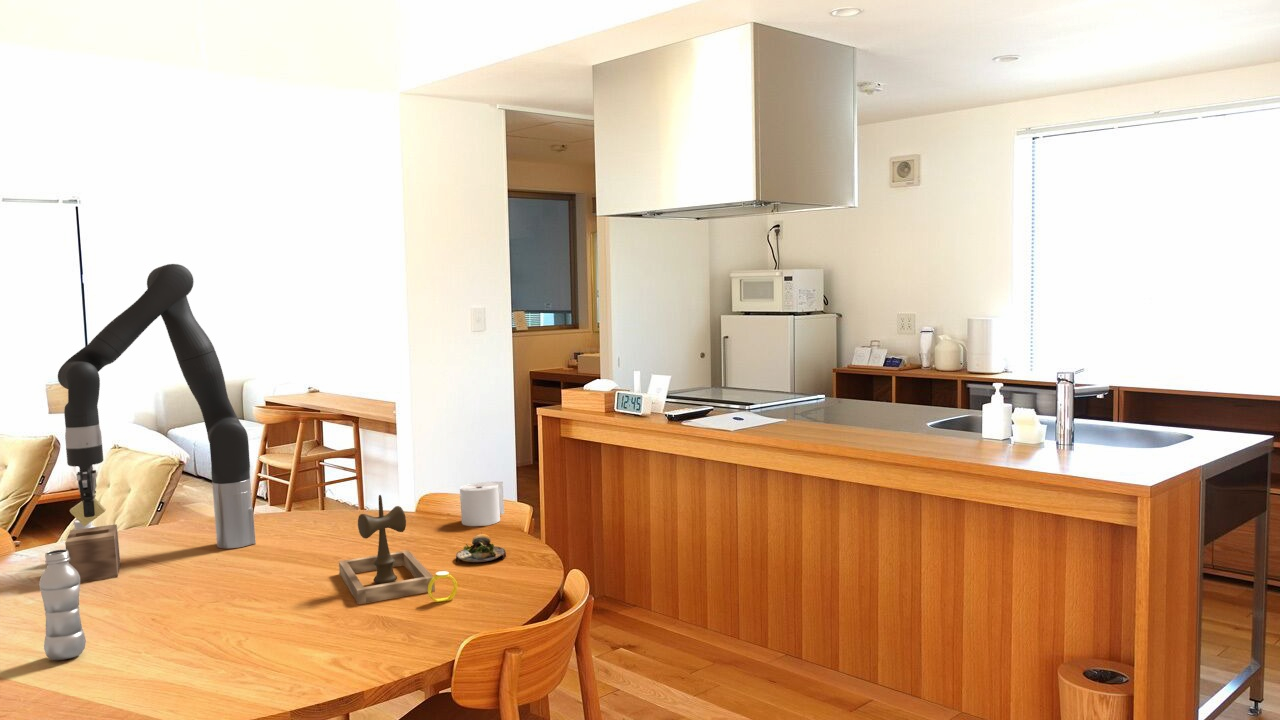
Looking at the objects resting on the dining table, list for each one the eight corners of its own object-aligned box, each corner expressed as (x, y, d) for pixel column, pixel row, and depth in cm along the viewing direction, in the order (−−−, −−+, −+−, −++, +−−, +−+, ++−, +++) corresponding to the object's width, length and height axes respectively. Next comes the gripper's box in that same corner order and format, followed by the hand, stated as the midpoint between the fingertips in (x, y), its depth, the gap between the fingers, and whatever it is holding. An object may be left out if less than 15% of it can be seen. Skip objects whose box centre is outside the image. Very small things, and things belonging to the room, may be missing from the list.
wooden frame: (409, 562, 231) (408, 550, 231) (434, 590, 209) (434, 577, 209) (339, 573, 224) (338, 561, 224) (358, 604, 202) (357, 590, 202)
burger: (446, 564, 229) (444, 534, 229) (473, 551, 240) (471, 521, 240) (490, 568, 225) (488, 537, 224) (515, 554, 236) (513, 524, 235)
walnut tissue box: (120, 563, 241) (116, 524, 240) (117, 577, 229) (114, 535, 228) (74, 570, 237) (70, 530, 236) (69, 584, 225) (65, 542, 224)
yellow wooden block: (85, 524, 233) (105, 509, 234) (84, 526, 230) (105, 511, 232) (70, 509, 231) (91, 494, 233) (69, 511, 229) (90, 496, 231)
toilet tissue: (456, 526, 264) (454, 490, 263) (470, 515, 276) (468, 481, 275) (493, 526, 262) (491, 490, 262) (506, 515, 274) (504, 481, 273)
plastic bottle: (56, 652, 182) (46, 548, 180) (93, 649, 182) (84, 546, 180) (38, 665, 175) (27, 558, 174) (76, 663, 176) (66, 555, 174)
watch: (431, 605, 200) (429, 577, 199) (427, 602, 202) (425, 574, 201) (459, 599, 203) (457, 571, 202) (454, 596, 205) (453, 568, 204)
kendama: (411, 580, 217) (405, 493, 216) (370, 590, 211) (364, 500, 210) (399, 574, 222) (394, 489, 220) (359, 584, 216) (353, 496, 214)
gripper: (100, 446, 226) (106, 519, 227) (103, 439, 238) (109, 507, 240) (62, 450, 223) (69, 523, 224) (68, 442, 235) (74, 512, 236)
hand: (90, 515), depth 232 cm, fingers closed on yellow wooden block, 2 cm apart
